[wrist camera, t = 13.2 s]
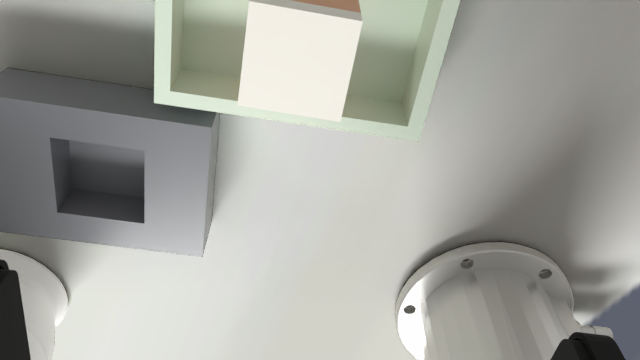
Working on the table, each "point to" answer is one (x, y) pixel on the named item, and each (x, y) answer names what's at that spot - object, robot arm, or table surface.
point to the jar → (38, 302)
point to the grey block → (104, 164)
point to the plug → (299, 56)
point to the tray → (366, 77)
